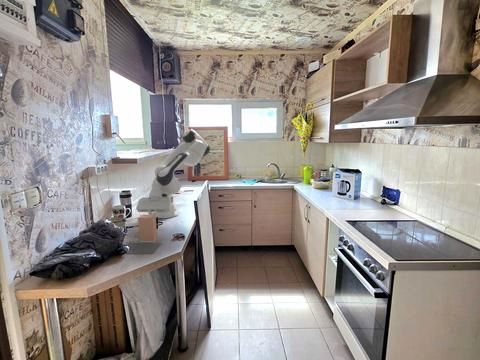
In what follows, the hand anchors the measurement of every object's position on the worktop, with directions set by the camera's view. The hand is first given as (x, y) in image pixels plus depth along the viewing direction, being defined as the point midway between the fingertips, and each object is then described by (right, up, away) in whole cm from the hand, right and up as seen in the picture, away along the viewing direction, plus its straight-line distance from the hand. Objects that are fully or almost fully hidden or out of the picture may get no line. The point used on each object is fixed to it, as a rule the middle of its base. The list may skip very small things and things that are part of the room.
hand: (151, 217), depth 151 cm
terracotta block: (0, -12, -4) cm, 13 cm away
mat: (-1, -14, -15) cm, 20 cm away
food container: (-23, -11, +4) cm, 26 cm away
